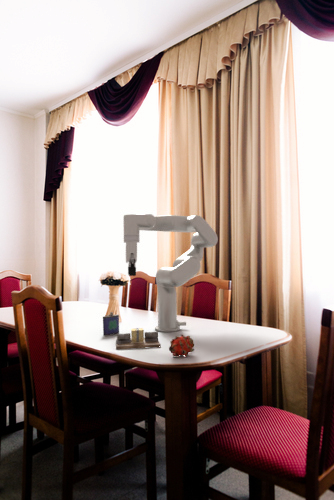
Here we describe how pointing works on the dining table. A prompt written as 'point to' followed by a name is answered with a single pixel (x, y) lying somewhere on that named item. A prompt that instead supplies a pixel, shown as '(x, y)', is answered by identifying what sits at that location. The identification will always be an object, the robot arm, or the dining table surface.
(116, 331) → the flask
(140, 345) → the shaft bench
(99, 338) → the dining table surface
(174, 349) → the dragon fruit
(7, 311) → the dining table surface
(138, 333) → the coupler
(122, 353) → the dining table surface
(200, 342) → the dining table surface
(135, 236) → the robot arm
